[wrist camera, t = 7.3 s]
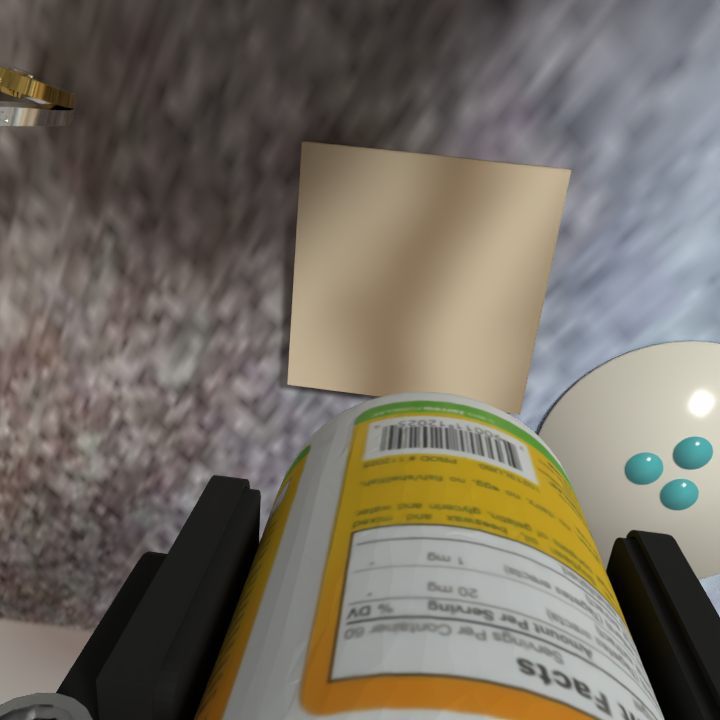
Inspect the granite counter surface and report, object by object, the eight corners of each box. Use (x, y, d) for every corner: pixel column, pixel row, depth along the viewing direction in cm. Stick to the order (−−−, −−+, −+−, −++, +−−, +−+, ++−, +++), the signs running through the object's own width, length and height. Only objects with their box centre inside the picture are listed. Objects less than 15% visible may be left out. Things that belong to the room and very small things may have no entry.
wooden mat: (567, 169, 24) (571, 170, 24) (518, 408, 28) (519, 414, 28) (304, 140, 25) (301, 141, 24) (290, 379, 29) (287, 384, 28)
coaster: (864, 360, 26) (868, 362, 26) (765, 597, 30) (768, 601, 30) (561, 323, 27) (562, 325, 26) (508, 561, 31) (508, 564, 31)
